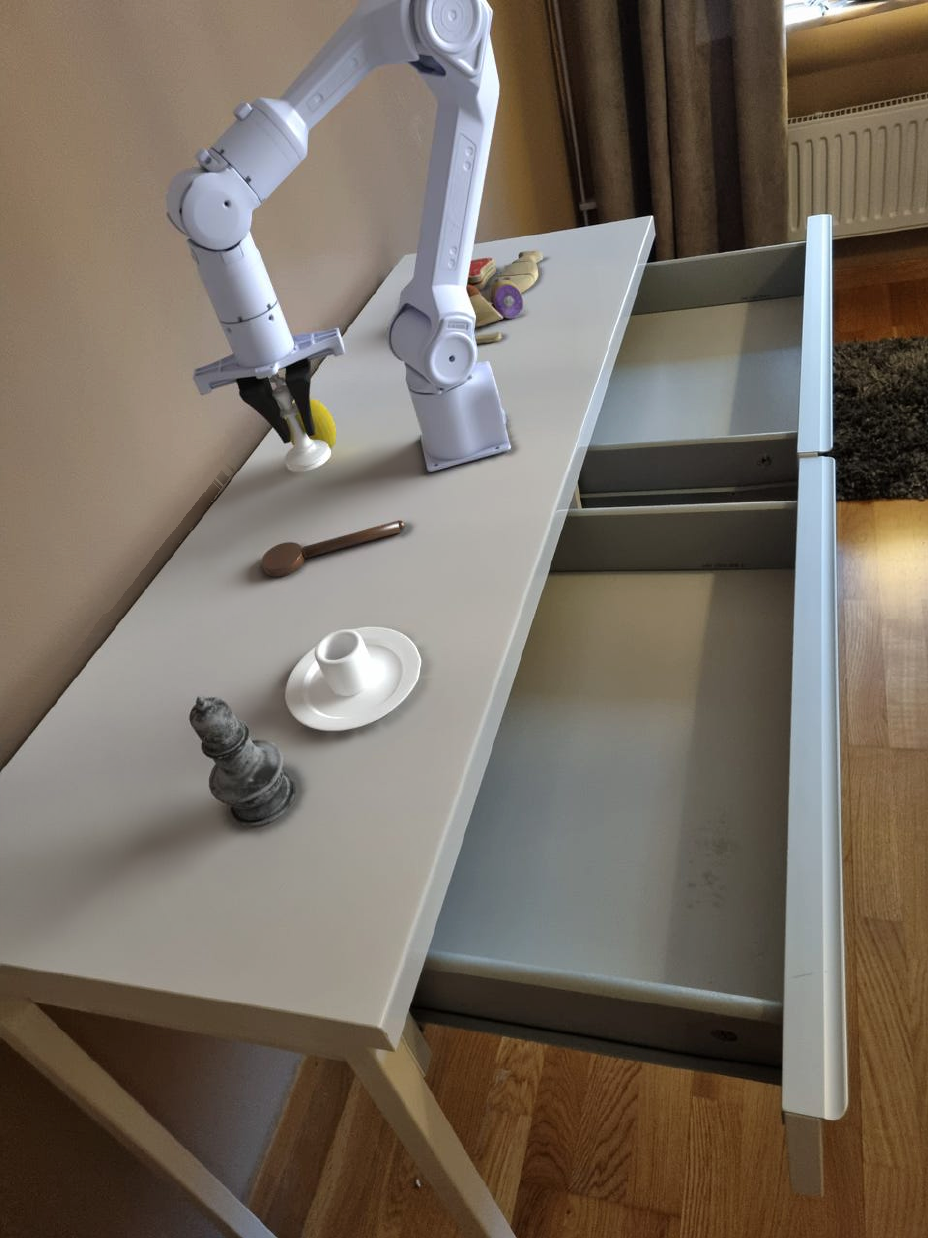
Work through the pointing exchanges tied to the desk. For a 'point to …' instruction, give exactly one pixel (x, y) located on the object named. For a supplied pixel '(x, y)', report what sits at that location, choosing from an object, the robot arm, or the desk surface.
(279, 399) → the chess piece
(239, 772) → the dark grey turned piece
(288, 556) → the spoon
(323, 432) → the lemon
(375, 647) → the candle holder
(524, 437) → the desk surface
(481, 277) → the toy food set
